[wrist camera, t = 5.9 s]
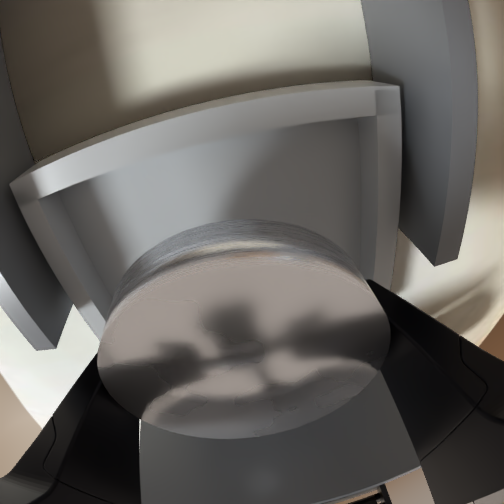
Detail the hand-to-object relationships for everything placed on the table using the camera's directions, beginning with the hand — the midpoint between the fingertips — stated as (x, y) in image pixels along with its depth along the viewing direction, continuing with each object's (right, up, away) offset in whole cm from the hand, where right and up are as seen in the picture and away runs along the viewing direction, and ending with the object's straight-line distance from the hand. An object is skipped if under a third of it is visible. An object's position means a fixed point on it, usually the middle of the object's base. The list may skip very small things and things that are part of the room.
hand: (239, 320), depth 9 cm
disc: (0, 0, -1) cm, 1 cm away
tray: (0, +1, +4) cm, 4 cm away
